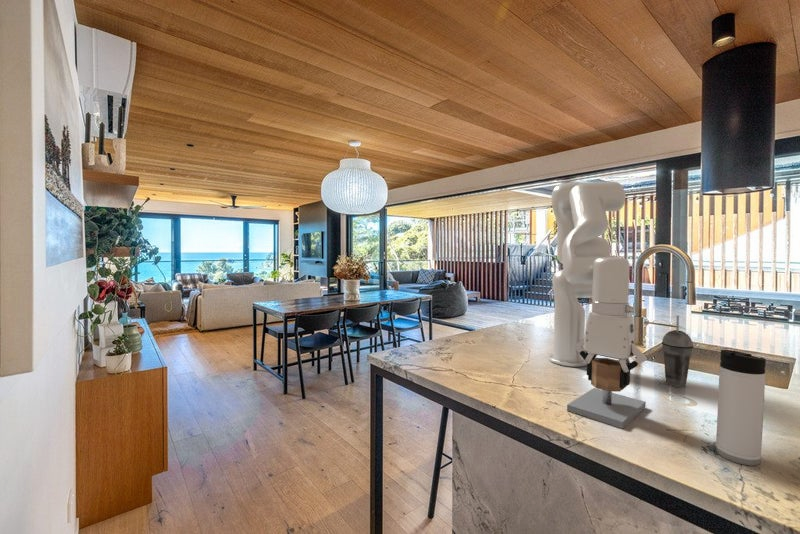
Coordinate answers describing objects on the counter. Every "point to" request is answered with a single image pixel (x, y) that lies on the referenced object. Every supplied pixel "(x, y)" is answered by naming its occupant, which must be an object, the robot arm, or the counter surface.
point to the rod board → (607, 408)
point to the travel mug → (740, 407)
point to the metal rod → (607, 397)
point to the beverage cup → (677, 356)
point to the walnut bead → (606, 374)
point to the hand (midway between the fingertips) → (607, 382)
